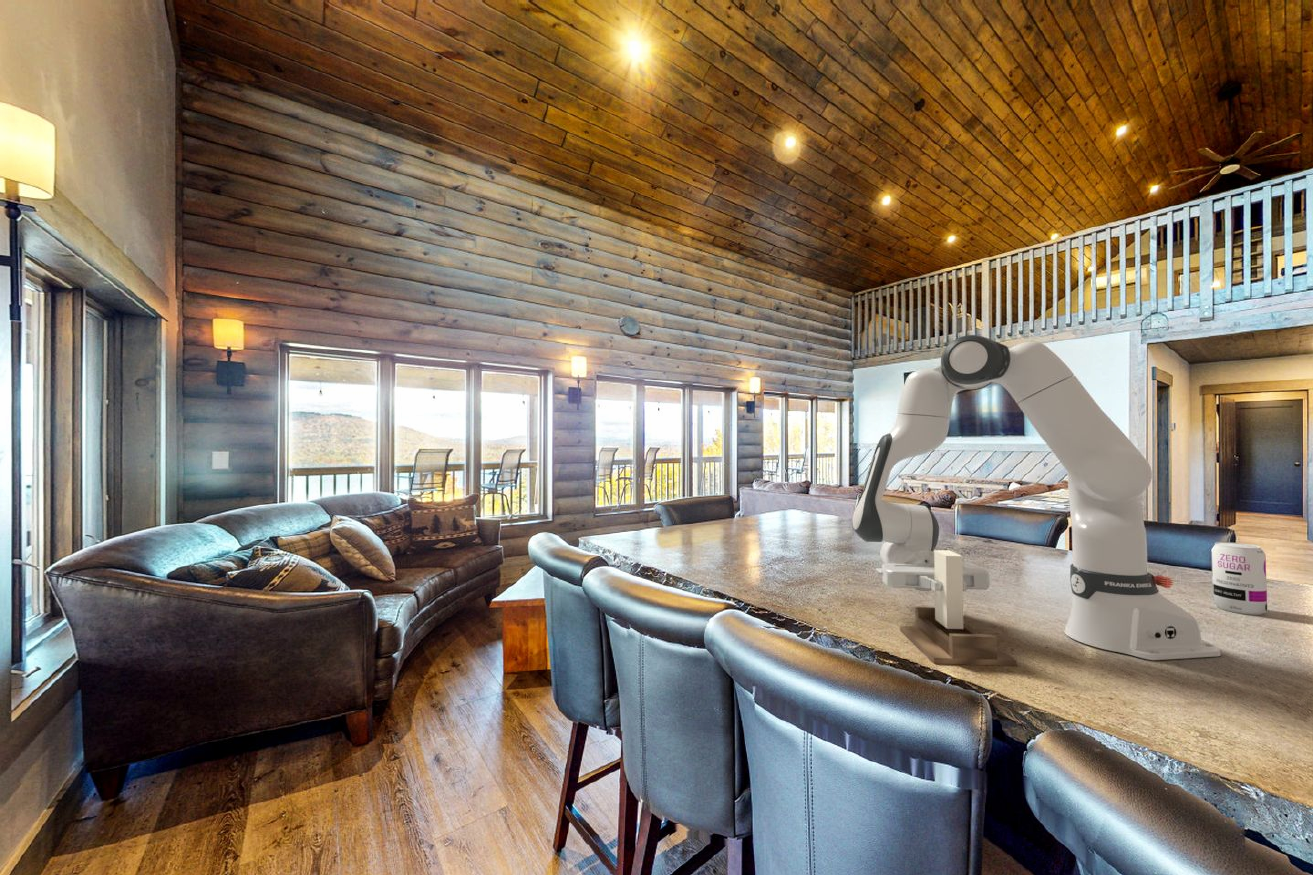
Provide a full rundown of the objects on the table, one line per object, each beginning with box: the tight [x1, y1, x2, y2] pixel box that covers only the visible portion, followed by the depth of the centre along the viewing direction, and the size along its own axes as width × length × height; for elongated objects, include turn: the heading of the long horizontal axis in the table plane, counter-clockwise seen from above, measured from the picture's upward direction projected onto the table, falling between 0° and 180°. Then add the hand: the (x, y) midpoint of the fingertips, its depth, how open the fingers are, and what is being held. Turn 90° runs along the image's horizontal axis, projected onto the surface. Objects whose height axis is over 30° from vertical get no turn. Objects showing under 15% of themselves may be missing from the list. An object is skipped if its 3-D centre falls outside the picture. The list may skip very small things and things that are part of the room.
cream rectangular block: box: [933, 549, 964, 629], centre depth 99 cm, size 3×5×14 cm, turn 174°
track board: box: [899, 606, 1018, 667], centre depth 98 cm, size 14×16×5 cm
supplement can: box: [1210, 541, 1268, 616], centre depth 116 cm, size 8×8×15 cm
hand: (950, 587), depth 98 cm, fingers closed on cream rectangular block, 3 cm apart
